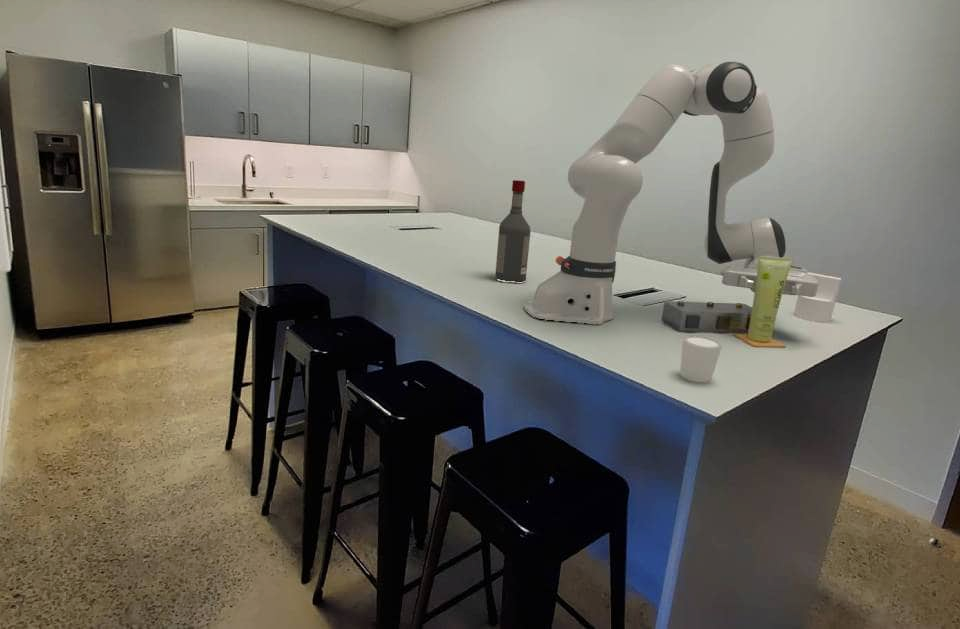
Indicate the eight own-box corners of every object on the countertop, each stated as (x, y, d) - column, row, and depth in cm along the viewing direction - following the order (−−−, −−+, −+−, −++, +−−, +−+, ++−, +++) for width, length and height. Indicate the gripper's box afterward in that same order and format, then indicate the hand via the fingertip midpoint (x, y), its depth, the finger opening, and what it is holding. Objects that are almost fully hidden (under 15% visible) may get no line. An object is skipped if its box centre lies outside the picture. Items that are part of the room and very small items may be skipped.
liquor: (495, 282, 169) (504, 180, 160) (495, 275, 177) (502, 178, 169) (525, 284, 169) (535, 182, 160) (523, 277, 178) (533, 181, 169)
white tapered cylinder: (710, 387, 101) (718, 351, 99) (672, 377, 105) (678, 341, 103) (717, 376, 107) (725, 341, 105) (681, 366, 110) (687, 333, 108)
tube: (762, 344, 127) (781, 259, 121) (741, 338, 131) (758, 255, 125) (774, 340, 130) (793, 258, 125) (753, 334, 134) (770, 254, 128)
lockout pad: (754, 347, 126) (754, 345, 126) (733, 335, 134) (733, 333, 133) (785, 347, 127) (786, 345, 127) (763, 335, 135) (763, 334, 135)
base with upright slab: (789, 316, 155) (799, 274, 152) (798, 311, 162) (808, 270, 158) (826, 324, 149) (837, 281, 146) (833, 319, 156) (844, 277, 152)
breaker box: (680, 332, 133) (684, 309, 131) (661, 320, 142) (665, 298, 140) (763, 334, 136) (768, 312, 135) (740, 322, 145) (744, 301, 144)
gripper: (722, 258, 141) (724, 267, 128) (814, 270, 134) (825, 280, 122) (717, 282, 143) (719, 294, 130) (807, 295, 136) (818, 308, 124)
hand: (771, 287), depth 126 cm, fingers open, 8 cm apart
